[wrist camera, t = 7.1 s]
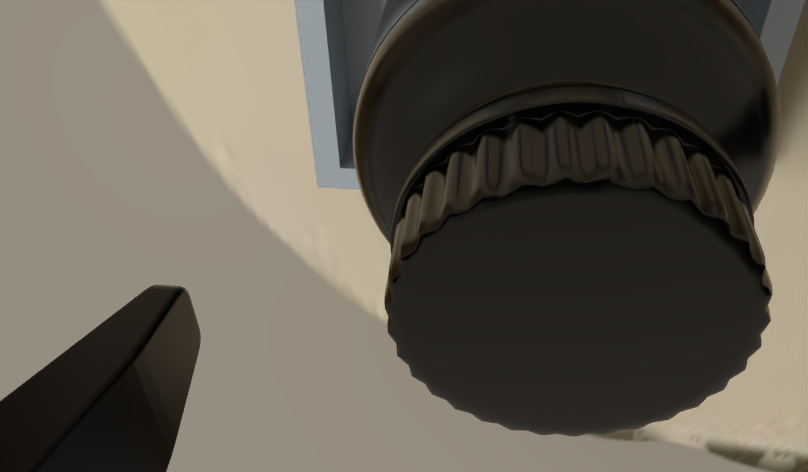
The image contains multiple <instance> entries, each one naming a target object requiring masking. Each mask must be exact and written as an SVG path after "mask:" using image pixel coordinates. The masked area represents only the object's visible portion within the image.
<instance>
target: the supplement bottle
mask: <svg viewBox="0 0 808 472" xmlns="http://www.w3.org/2000/svg"><path fill="white" fill-rule="evenodd" d="M780 136H781V106H780V98H779V91H778V87H777V83H776V79H775V76H774V72H773V69H772V67H771V64H770V62H769V59H768V57H767V54H766V52H765V50H764V47H763V45H762V43H761V40H760V38H759V36H758V34H757V32H756V31H755V29H754V27H753V25H752V23H751V22H750V20H749V18H748V16H747V15H746V13H745V11H744V9H743V7H742V6H741V4H740V2H739V0H387V1H386V5H385V8H384V11H383V15H382V18H381V21H380V24H379V28H378V31H377V34H376V37H375V41H374V44H373V47H372V51H371V54H370V57H369V61H368V64H367V67H366V70H365V74H364V77H363V81H362V85H361V88H360V92H359V95H358V101H357V106H356V112H355V119H354V125H353V156H354V165H355V170H356V175H357V180H358V183H359V186H360V190H361V193H362V196H363V198H364V201H365V203H366V205H367V207H368V210H369V212H370V214H371V216H372V218H373V219H374V221H375V223H376V225H377V226H378V228H379V230H380V231H381V233H382V234H383V235H384V237H385V238H386V240H387V241H388V242H389V244H390V245H391V261H390V267H389V274H388V280H387V286H386V291H385V309H386V311H387V314H388V323H387V327H388V333H389V335H390V336H391V337H392V339H393V340H394V341H395V342H396V344H397V355H398V357H400V358H401V359H402V360H403V361H405V363H407V364H408V365H409V367H410V371H411V374H412V376H413V377H415V378H416V379H418V380H419V381H421V382H423V383H425V384H426V385H427V387H428V389H429V391H430V392H431V393H432V394H433V395H435V396H438V397H440V398H442V399H445V400H447V401H448V402H449V403H450V404H451V405H452V406H453V407H454V408H455V409H457V410H461V411H464V412H468V413H471V414H473V415H474V416H475V417H477V418H478V419H480V420H481V421H485V422H491V423H498V424H500V425H502V426H504V427H506V428H508V429H510V430H526V431H530V432H533V433H536V434H540V435H550V434H562V435H568V436H579V435H584V434H589V433H590V434H609V433H613V432H615V431H618V430H626V429H639V428H641V427H643V426H645V425H647V424H649V423H651V422H657V421H664V420H669V419H671V418H672V417H674V416H675V415H676V414H678V413H679V412H681V411H684V410H688V409H691V408H695V407H698V406H699V405H700V404H701V403H702V402H703V401H704V400H705V399H706V398H707V397H708V396H711V395H713V394H715V393H718V392H720V391H722V390H724V388H725V387H726V385H727V383H728V381H729V380H730V379H731V378H733V377H734V376H736V375H737V374H739V373H741V372H742V371H744V370H745V368H746V365H747V360H748V358H749V357H750V356H751V355H752V354H753V353H755V352H756V351H757V350H758V349H759V348H760V347H761V333H762V332H763V331H764V329H765V328H766V327H767V325H768V324H769V323H770V321H771V318H770V310H769V307H768V303H769V301H770V299H771V296H772V285H771V281H770V278H769V275H768V272H767V270H766V267H765V257H764V253H763V250H762V247H761V244H760V242H759V239H758V237H757V234H756V231H755V229H754V216H753V214H754V213H755V211H756V210H757V208H758V206H759V204H760V202H761V200H762V198H763V196H764V194H765V192H766V190H767V187H768V184H769V182H770V179H771V176H772V174H773V171H774V167H775V163H776V159H777V155H778V151H779V144H780Z"/></svg>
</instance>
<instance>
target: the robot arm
mask: <svg viewBox="0 0 808 472" xmlns="http://www.w3.org/2000/svg"><path fill="white" fill-rule="evenodd" d="M200 338H201V336H200V329H199V325H198V322H197V319H196V315H195V312H194V309H193V305H192V302H191V299H190V296H189V293H188V291H187V290H186V289H185V288H184V287H181V286H170V285H153V286H151V287H149V288H148V289H146V290H145V291H143V292H142V293H141V294H140V295H138V296H137V297H135V298H134V299H133V300H132V301H130V302H129V303H128V304H126V305H125V306H124V307H122V308H121V309H120V310H119V311H117V312H116V313H115V314H113V315H112V316H111V317H109V318H108V319H107V320H105V321H104V322H103V323H102V324H100V325H99V326H98V327H96V328H95V329H94V330H93V331H91V332H90V333H89V334H87V335H86V336H85V337H84V338H82V339H81V340H79V341H78V342H77V343H75V344H74V345H73V346H72V347H70V348H69V349H68V350H66V351H65V352H64V353H63V354H61V355H60V356H59V357H57V358H56V359H55V360H53V361H52V362H51V363H50V364H48V365H47V366H45V367H44V368H43V369H42V370H40V371H39V372H38V373H36V374H35V375H34V376H32V377H31V378H30V379H29V380H27V381H26V382H25V383H23V384H22V385H21V386H19V387H18V388H17V389H16V390H14V391H13V392H12V393H10V394H9V395H8V396H6V397H5V398H4V399H2V400H1V401H0V472H166V470H167V468H168V465H169V462H170V459H171V456H172V453H173V449H174V445H175V442H176V438H177V435H178V430H179V427H180V423H181V419H182V414H183V411H184V407H185V403H186V399H187V395H188V391H189V388H190V384H191V380H192V376H193V372H194V368H195V364H196V360H197V356H198V352H199V348H200Z"/></svg>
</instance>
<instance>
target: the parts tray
mask: <svg viewBox="0 0 808 472" xmlns="http://www.w3.org/2000/svg"><path fill="white" fill-rule="evenodd" d="M386 1H387V0H294V2H295V10H296V18H297V26H298V34H299V42H300V50H301V58H302V66H303V74H304V82H305V90H306V98H307V105H308V113H309V121H310V129H311V137H312V145H313V153H314V161H315V169H316V177H317V185H318V187H324V188H342V189H360V186H359V183H358V180H357V175H356V170H355V165H354V156H353V125H354V119H355V112H356V106H357V101H358V95H359V92H360V88H361V85H362V81H363V77H364V74H365V70H366V67H367V64H368V61H369V57H370V54H371V51H372V47H373V44H374V41H375V37H376V34H377V31H378V28H379V24H380V21H381V18H382V15H383V11H384V8H385V5H386ZM805 1H806V0H739V2H740V4H741V6H742V7H743V9H744V11H745V13H746V15H747V16H748V18H749V20H750V22H751V23H752V25H753V27H754V29H755V31H756V32H757V34H758V36H759V38H760V40H761V43H762V45H763V47H764V50H765V52H766V54H767V57H768V59H769V62H770V64H771V67H772V69H773V72H774V76H775V79H776V83H777V84H778V81H779V79H780V76H781V73H782V70H783V67H784V64H785V61H786V58H787V55H788V52H789V49H790V46H791V43H792V40H793V37H794V34H795V31H796V28H797V25H798V22H799V19H800V16H801V13H802V10H803V7H804V4H805Z"/></svg>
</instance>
